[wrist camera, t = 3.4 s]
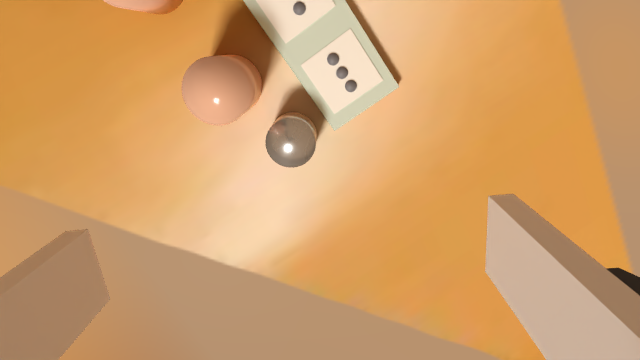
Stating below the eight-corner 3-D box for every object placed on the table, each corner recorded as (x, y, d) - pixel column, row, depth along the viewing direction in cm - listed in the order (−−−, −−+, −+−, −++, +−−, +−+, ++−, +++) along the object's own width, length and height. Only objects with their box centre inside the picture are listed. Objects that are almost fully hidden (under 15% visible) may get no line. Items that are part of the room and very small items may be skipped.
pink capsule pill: (193, 77, 41) (167, 83, 35) (237, 42, 40) (219, 41, 33) (229, 123, 43) (211, 138, 36) (273, 91, 42) (263, 100, 35)
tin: (261, 129, 43) (255, 137, 39) (298, 102, 42) (295, 108, 38) (289, 165, 44) (285, 176, 40) (325, 140, 43) (325, 149, 39)
